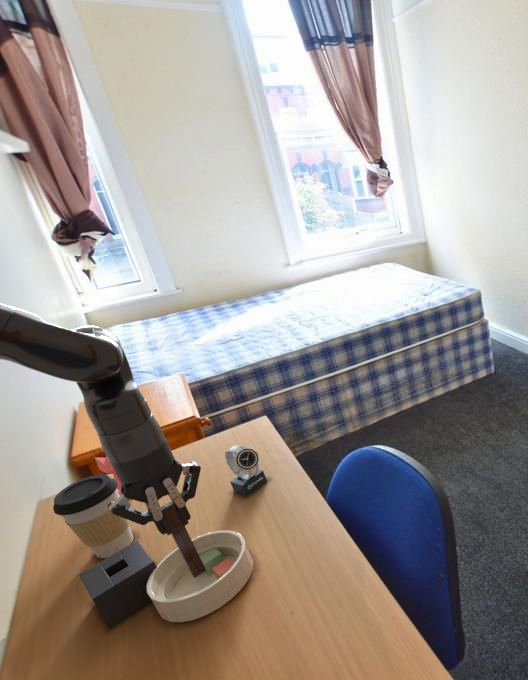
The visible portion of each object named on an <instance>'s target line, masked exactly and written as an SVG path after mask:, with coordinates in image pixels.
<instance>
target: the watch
mask: <svg viewBox="0 0 528 680" xmlns="http://www.w3.org/2000/svg"><path fill="white" fill-rule="evenodd" d="M224 457H225V460H226V464H227V465H228V467H229V469H230V470H231V472H233V474H234V475H237V476H236V477H234V478H232V479H231V480H230V481H229V482H230V485H231V487H232V490H233V493H236V494H239V495H242V496H244V497H248V496H249V495H251V494H252V493H253V492H254V491H256V490H257V489H259V488H260V487H261V486H262V485H264V484H265V483H267V482H268V480H267V477H266V474H265V472H264V470H263V469H260V468H259V466H260V463H259V461H260V458H259V457H260V456H259V452H258V451H257V450H254V449H253V448H249V447H247V446H246V445H244V446H243V445H240V444H236V445H233V446H232V447H231V448H229V449H228V450H225V452H224Z"/></svg>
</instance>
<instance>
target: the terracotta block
mask: <svg viewBox="0 0 528 680" xmlns="http://www.w3.org/2000/svg"><path fill="white" fill-rule="evenodd" d="M233 565H234V562H233V561H232V560H231V559H230V558H227V559H226V560H224V561H223V562H221V563H220V564H218V565H217V566H215V567H214V568H212V570H213V572H214V574H215V576H216V579H217V580H218V579H220V578H221V577H222V576H223V575H224V574H225V573H226V572H227V571H228V570H229V569H230V568H231V567H232V566H233Z"/></svg>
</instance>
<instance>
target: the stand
mask: <svg viewBox="0 0 528 680" xmlns="http://www.w3.org/2000/svg"><path fill="white" fill-rule="evenodd" d="M156 568H157V564H156V562H155V561H154V560H153V558H152V557H151V556H150V555H149V553H148V552H147V551H146V549H145V548H144V546H143V545H142V544H141V543H140V542H139V541H138V540H136V541H133V542H132V543H131V544H130V545H129V546H127V547H125V548H124V549H122V550H120V551H119V552H117V553H115V554H114V555H112V556H110V557H108V558H104V559H103V560H101V561H100V562H98V563H96V564H95V565H93V566H91V567H89V568H87V569H86V570H84V571H82V572H80V573H79V574H78V576H79V578H80V581H81V582H82V584H83V586H84V587H85V589H86V590H87V592H88V594H89V596H90V598H91V599H92V601H93V603H94V604H95V605H96V607H97V610H99V612H100V613H101V615H102V616H103V618H104V620H105V621H106V623H107V625H108V626H109V627H110V628H112V627H114V626H116V625H117V624H119V623H120V622H122V621H123V620H125V619H126V618H127V617H130V616H131V615H132V614H135V612H137V611H138V610H140V609H142V608H143V607H144V606H145V605H147V604H149V603H150V602H152V601H151V599H150V597H149V595H148V594H147V582H148V580H149V577H150V575H151V573H152V572H153V570H154V569H156Z"/></svg>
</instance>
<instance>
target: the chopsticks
mask: <svg viewBox="0 0 528 680" xmlns="http://www.w3.org/2000/svg"><path fill="white" fill-rule="evenodd" d="M160 509H161V512H162V515H163V516H164V517H165V518H166V520H167V522H168V524H169V526H170V528H171V530H172V532H173V533H172V534H171V537H172V538H173V540H174V542H175V544H176V547H177V548H179V550H180V552H181V554H182V556H183V558H184V560H185V562H186V564H187V566H188V568H189V570H190V572H191V574H192V576H193V577H194V578H196V577H197V576H198V575H200V574H202V573H203V572H204V571H206V569H205V567H204V565H203V563H202V561H201V559H200V557H199V555H198V552H197V550H196V548H195V546H194V544H193V542H192V538H191V536H190V534H189V532H188V530H187V527H186V525H185V526H184V524H183V522H182V520H181V518H180V516H179V514H178V512H177V510H176V507H175V505H174V503H173V502H172V500H170V501H169V502H167V503H165V504H163V505H162V506H160Z"/></svg>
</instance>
